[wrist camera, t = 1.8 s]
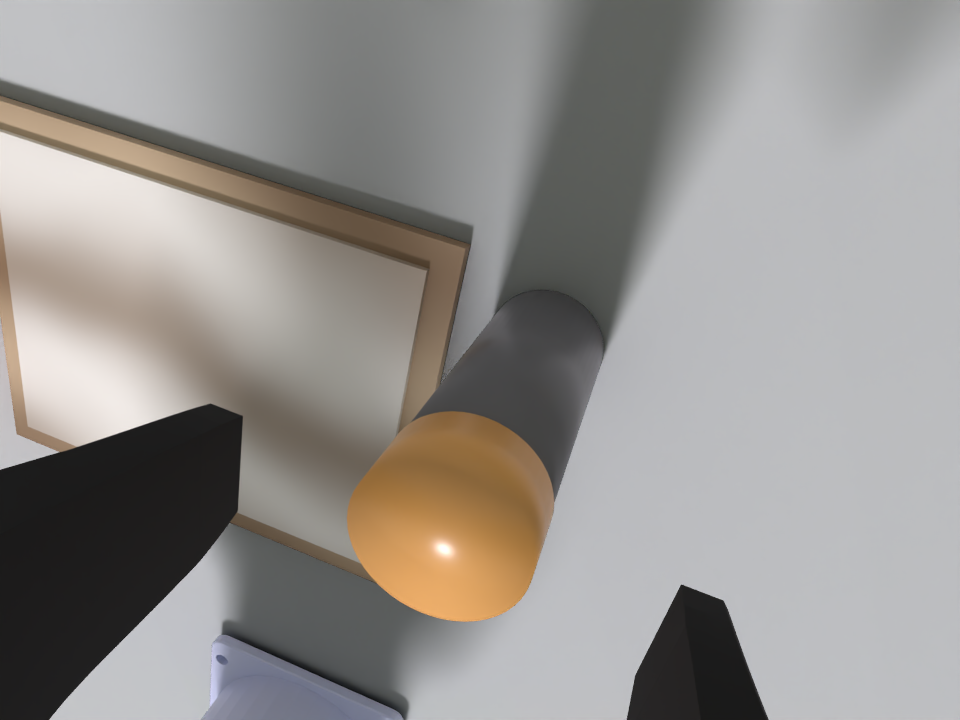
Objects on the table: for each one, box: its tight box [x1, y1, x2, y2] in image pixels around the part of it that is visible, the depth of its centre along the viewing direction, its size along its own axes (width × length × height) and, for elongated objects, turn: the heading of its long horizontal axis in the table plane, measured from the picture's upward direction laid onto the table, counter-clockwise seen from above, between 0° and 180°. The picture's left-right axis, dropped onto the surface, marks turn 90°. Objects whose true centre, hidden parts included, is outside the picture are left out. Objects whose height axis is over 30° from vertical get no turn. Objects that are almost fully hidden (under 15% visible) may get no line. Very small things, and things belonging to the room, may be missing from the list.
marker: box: [347, 290, 604, 622], centre depth 14 cm, size 3×3×8 cm
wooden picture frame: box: [0, 96, 470, 583], centre depth 21 cm, size 12×15×1 cm
